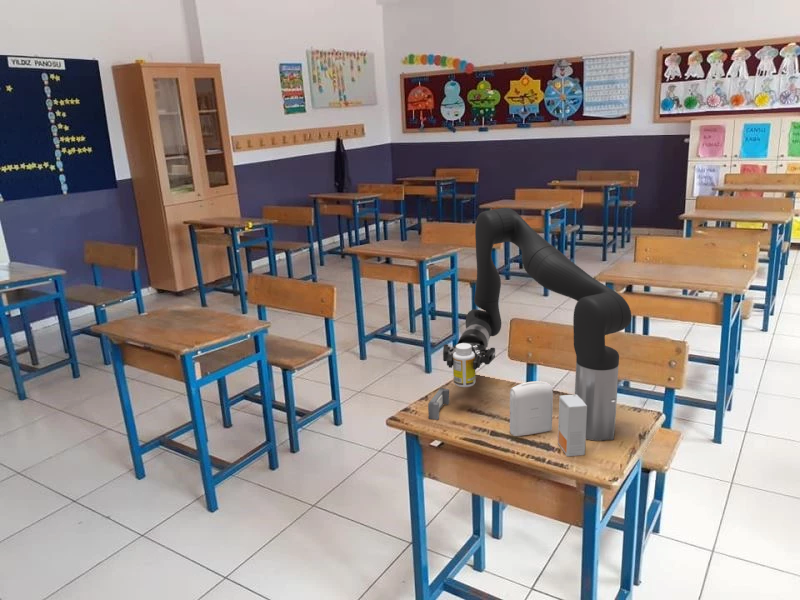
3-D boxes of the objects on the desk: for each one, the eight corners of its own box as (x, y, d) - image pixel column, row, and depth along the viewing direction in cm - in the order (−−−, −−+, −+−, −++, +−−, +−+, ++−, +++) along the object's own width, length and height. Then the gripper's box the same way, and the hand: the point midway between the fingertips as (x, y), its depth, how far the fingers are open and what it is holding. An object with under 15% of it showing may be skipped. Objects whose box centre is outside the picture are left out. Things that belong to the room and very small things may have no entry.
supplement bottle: (476, 379, 161) (475, 342, 158) (474, 388, 156) (474, 350, 153) (454, 378, 163) (453, 341, 160) (452, 387, 157) (451, 349, 154)
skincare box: (556, 443, 142) (558, 395, 139) (575, 442, 143) (577, 393, 139) (566, 457, 136) (568, 406, 133) (585, 455, 137) (588, 405, 134)
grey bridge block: (449, 403, 165) (449, 389, 163) (437, 419, 156) (437, 404, 154) (440, 402, 165) (440, 388, 164) (428, 418, 156) (428, 403, 155)
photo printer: (513, 438, 145) (514, 389, 142) (506, 430, 149) (507, 381, 146) (554, 432, 147) (556, 383, 144) (546, 424, 152) (548, 376, 148)
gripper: (447, 327, 172) (433, 348, 156) (500, 330, 168) (491, 353, 152) (448, 352, 174) (434, 376, 158) (500, 356, 170) (491, 381, 154)
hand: (462, 364), depth 155 cm, fingers closed on supplement bottle, 5 cm apart
